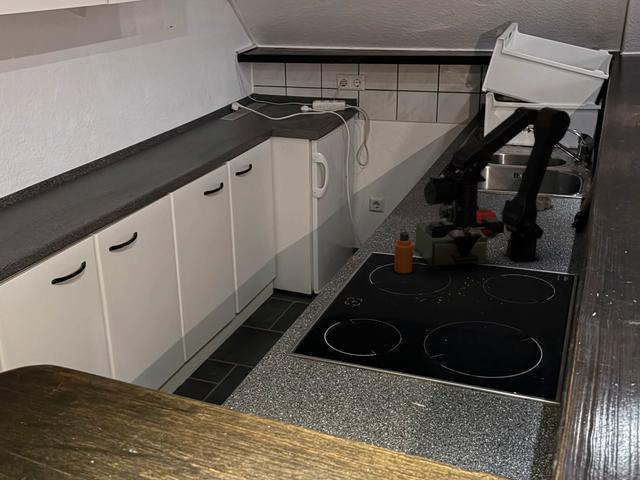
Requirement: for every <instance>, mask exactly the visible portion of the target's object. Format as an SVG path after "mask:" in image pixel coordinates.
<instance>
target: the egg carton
mask: <svg viewBox="0 0 640 480" xmlns="http://www.w3.org/2000/svg"><path fill="white" fill-rule="evenodd" d="M514 195H515V196H516V195H517V193H514ZM553 198H554V194H551V193H545V194H541V193H540V194H538V196H537V198H536V206H537V211H544V210H545V209H550V208H551V205H552V200H551V199H553Z"/></svg>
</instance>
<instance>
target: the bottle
mask: <svg viewBox="0 0 640 480" xmlns="http://www.w3.org/2000/svg"><path fill="white" fill-rule="evenodd" d="M409 234H410V233H409V232H408V231H401V232H400V233H399V238H397V240H396V241H397V242H395V243H394V256H393V257H394V261H393V271H394V272H396V273H399V274H409V273H412V272H413V261H414V260H413V259H414V258H413V257H414V243H412V240H411V239H410V238H409V236H410V235H409Z"/></svg>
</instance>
